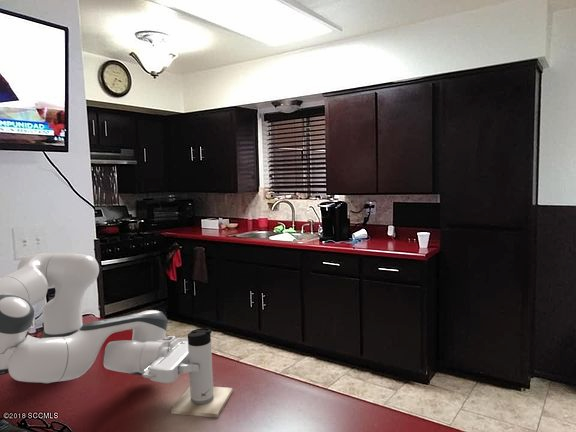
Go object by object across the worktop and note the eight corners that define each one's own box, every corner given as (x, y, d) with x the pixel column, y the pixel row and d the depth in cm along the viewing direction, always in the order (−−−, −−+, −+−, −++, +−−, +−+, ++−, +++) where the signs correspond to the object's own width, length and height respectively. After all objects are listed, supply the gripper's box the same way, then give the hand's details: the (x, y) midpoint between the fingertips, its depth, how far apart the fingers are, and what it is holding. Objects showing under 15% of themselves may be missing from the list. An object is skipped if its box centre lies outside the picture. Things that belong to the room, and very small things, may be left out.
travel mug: (209, 406, 113) (205, 335, 111) (186, 403, 115) (183, 333, 112) (218, 394, 119) (215, 326, 117) (197, 391, 121) (193, 324, 118)
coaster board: (171, 413, 112) (171, 409, 112) (190, 388, 125) (190, 384, 125) (217, 417, 110) (217, 413, 110) (232, 391, 122) (232, 388, 122)
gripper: (137, 364, 108) (188, 367, 105) (173, 333, 128) (216, 335, 125) (139, 387, 108) (189, 391, 106) (174, 353, 128) (217, 355, 126)
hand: (204, 360), depth 116 cm, fingers closed on travel mug, 6 cm apart
